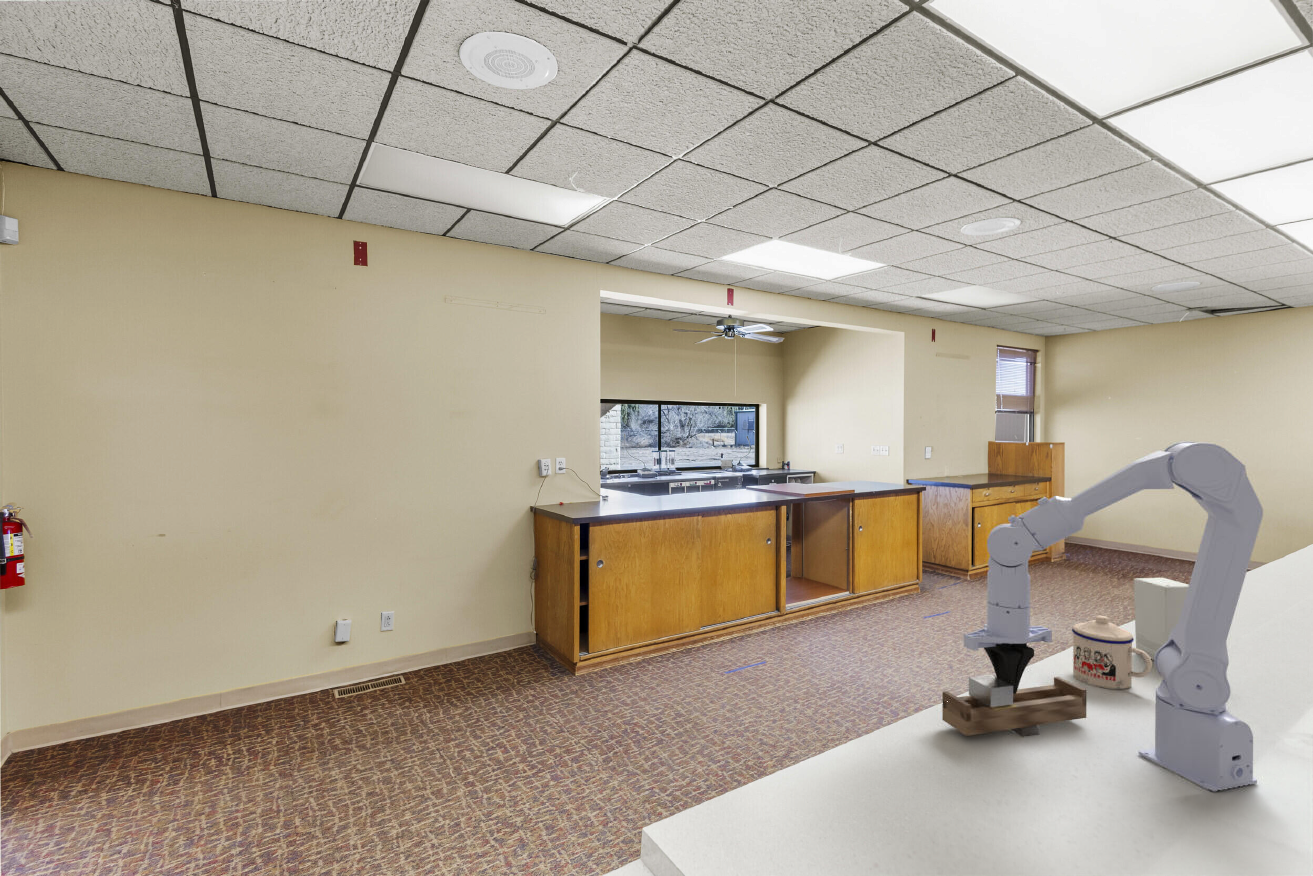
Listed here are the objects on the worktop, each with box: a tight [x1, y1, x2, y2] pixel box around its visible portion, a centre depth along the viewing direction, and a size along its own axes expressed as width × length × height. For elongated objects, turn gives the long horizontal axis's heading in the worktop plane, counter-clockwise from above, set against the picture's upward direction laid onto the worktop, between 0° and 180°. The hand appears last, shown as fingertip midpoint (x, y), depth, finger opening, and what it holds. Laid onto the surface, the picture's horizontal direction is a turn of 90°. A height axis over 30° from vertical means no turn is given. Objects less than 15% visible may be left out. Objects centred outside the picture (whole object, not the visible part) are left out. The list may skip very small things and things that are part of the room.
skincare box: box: [1133, 577, 1189, 661], centre depth 121 cm, size 8×7×16 cm
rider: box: [968, 673, 1013, 708], centre depth 93 cm, size 4×4×4 cm
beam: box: [941, 676, 1088, 738], centre depth 94 cm, size 22×6×6 cm, turn 104°
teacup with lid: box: [1071, 615, 1153, 690], centre depth 110 cm, size 12×9×12 cm
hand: (1007, 691), depth 94 cm, fingers closed
